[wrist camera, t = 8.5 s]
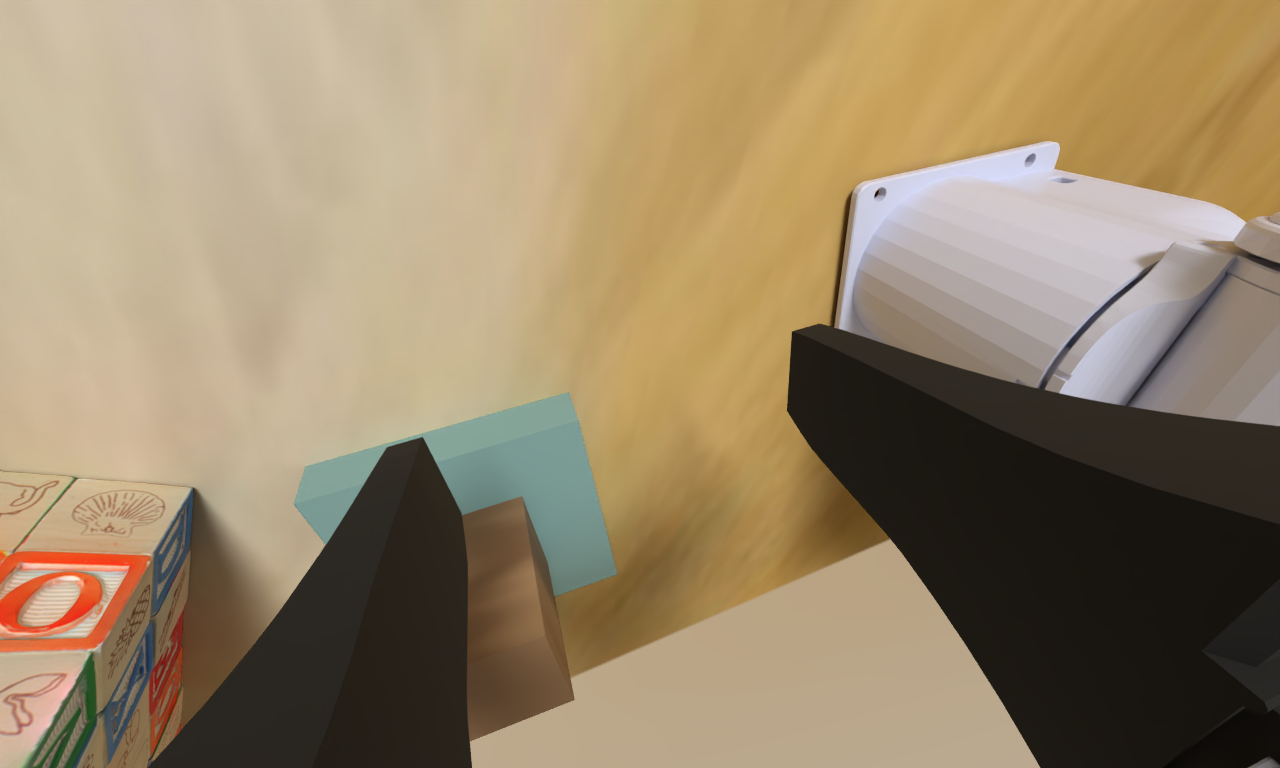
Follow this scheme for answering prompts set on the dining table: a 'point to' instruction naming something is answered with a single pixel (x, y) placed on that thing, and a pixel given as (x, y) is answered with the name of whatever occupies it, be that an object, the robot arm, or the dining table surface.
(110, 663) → the stack of blocks
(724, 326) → the dining table surface
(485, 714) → the walnut block
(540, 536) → the teal base
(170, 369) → the dining table surface
